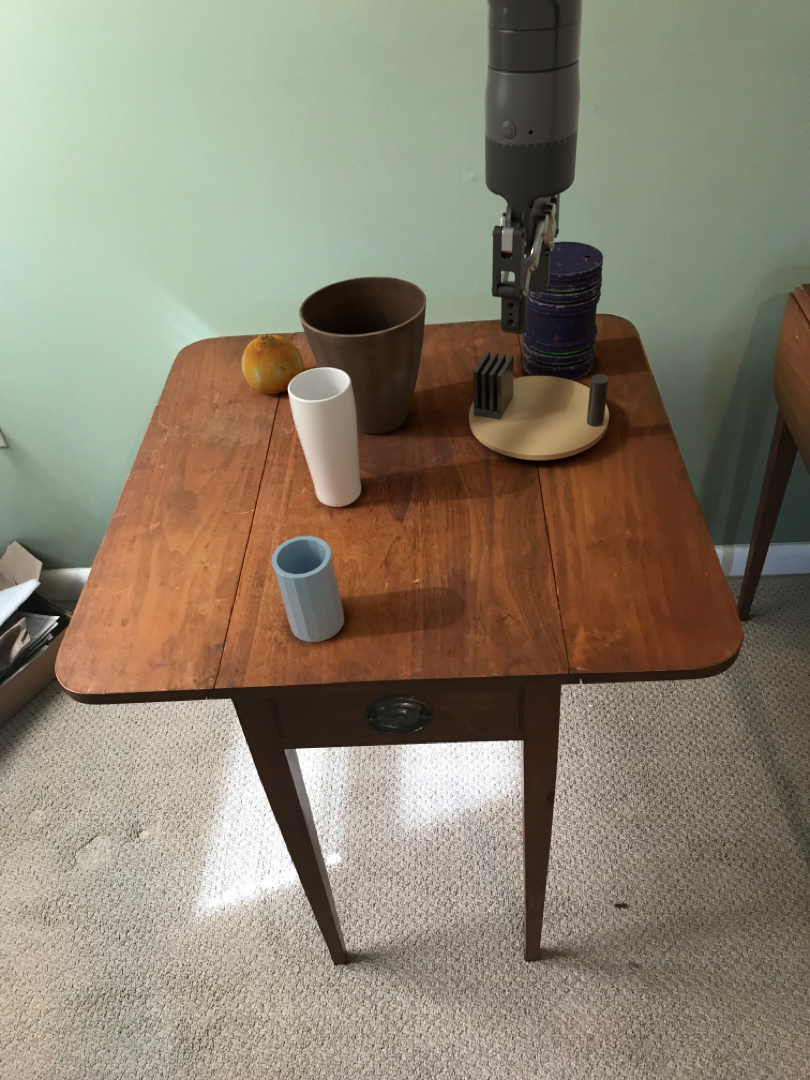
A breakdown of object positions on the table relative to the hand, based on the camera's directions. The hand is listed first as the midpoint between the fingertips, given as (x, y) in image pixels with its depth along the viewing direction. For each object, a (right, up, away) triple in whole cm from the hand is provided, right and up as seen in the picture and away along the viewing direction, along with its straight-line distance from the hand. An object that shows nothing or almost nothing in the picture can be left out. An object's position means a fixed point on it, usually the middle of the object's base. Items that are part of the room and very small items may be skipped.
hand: (525, 310), depth 74 cm
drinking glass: (-19, -17, +16) cm, 30 cm away
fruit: (-30, 0, +35) cm, 46 cm away
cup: (-20, -30, +2) cm, 36 cm away
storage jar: (+10, +2, +33) cm, 34 cm away
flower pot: (-15, -6, +27) cm, 31 cm away
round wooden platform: (+5, -7, +21) cm, 23 cm away
